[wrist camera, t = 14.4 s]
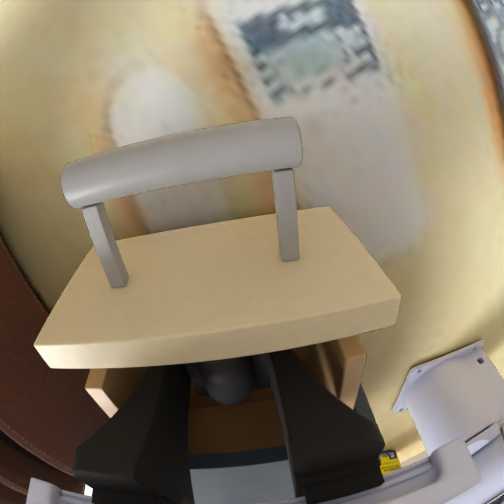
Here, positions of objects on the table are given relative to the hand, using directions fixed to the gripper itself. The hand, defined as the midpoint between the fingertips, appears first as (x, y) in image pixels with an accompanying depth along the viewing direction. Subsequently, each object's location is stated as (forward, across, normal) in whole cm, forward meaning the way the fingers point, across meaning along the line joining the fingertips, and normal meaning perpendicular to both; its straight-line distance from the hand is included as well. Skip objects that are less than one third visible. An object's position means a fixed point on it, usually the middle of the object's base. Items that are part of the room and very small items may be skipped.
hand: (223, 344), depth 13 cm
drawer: (+3, 0, 0) cm, 3 cm away
